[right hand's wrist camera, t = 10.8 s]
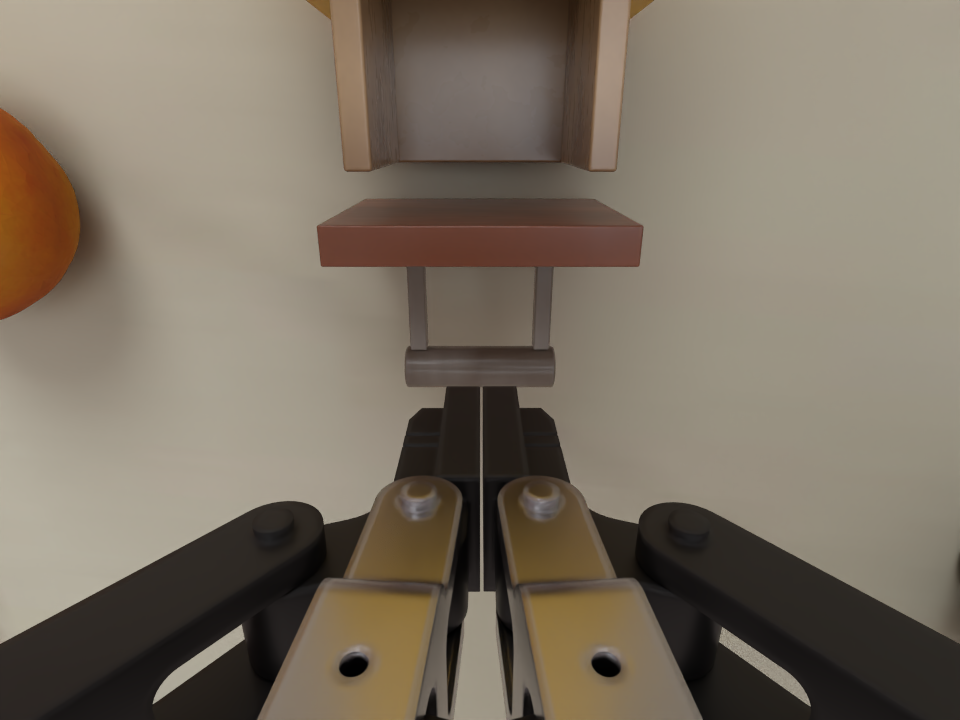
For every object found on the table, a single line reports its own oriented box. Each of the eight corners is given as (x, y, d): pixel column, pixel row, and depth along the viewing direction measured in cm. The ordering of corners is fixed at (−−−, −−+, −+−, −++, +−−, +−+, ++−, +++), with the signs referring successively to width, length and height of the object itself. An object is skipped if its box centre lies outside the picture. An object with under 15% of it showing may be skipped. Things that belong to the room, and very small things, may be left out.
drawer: (584, 347, 25) (622, 425, 18) (375, 347, 25) (337, 425, 18) (642, -444, 16) (761, -867, 9) (317, -444, 16) (199, -867, 9)
